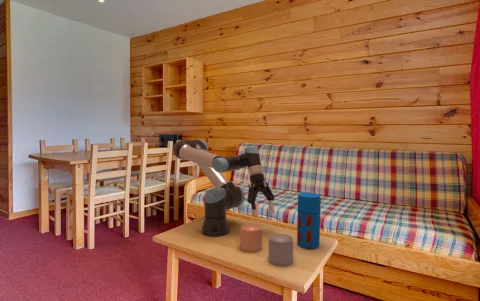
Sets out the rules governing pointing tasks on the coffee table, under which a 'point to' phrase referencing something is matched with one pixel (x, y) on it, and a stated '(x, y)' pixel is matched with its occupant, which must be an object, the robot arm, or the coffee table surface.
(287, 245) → the brown octagonal jar
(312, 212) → the thermos
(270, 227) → the coffee table surface
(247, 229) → the octagonal lidded canister
